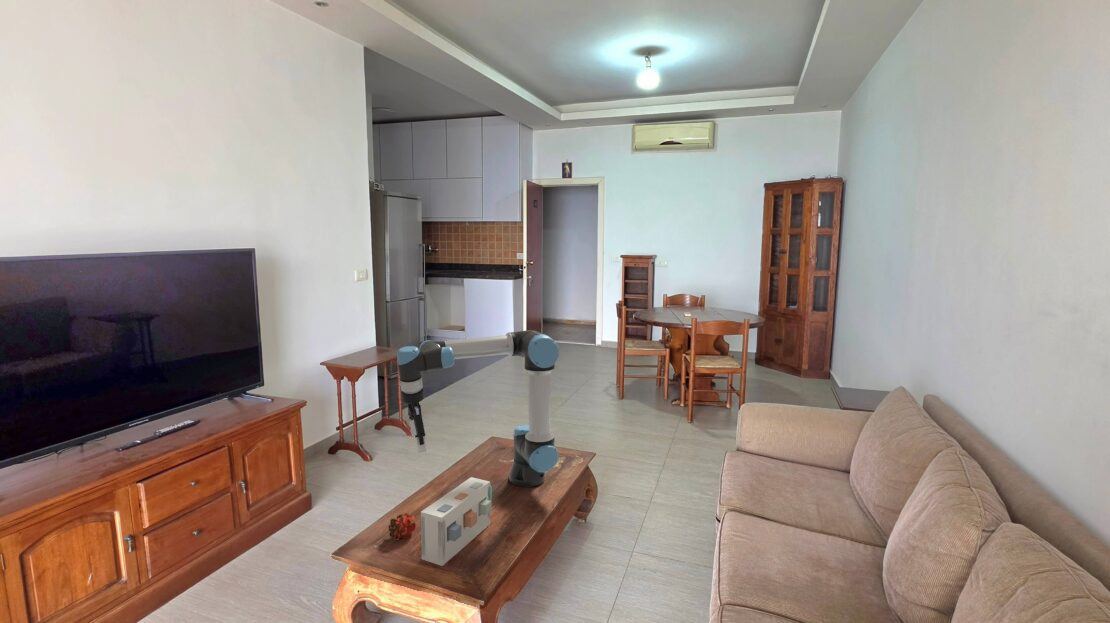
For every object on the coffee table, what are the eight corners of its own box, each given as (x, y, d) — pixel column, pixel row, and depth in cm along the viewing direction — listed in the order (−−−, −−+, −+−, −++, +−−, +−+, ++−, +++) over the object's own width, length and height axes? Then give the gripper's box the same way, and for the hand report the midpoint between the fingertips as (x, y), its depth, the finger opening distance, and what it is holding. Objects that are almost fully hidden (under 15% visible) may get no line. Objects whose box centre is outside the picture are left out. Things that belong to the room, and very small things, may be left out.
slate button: (448, 531, 177) (448, 521, 177) (461, 535, 175) (461, 525, 175) (441, 537, 174) (441, 526, 173) (454, 541, 172) (454, 530, 171)
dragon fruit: (389, 550, 182) (410, 536, 193) (408, 538, 180) (428, 526, 191) (378, 526, 183) (399, 514, 195) (396, 515, 181) (416, 503, 193)
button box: (471, 519, 199) (471, 476, 197) (490, 524, 196) (490, 480, 194) (421, 559, 174) (420, 510, 172) (442, 566, 171) (441, 516, 169)
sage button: (479, 507, 193) (479, 497, 193) (491, 510, 191) (491, 501, 191) (473, 512, 190) (473, 502, 190) (485, 515, 188) (485, 505, 187)
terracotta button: (464, 519, 185) (464, 509, 185) (477, 522, 183) (477, 512, 183) (458, 524, 182) (458, 513, 181) (471, 527, 180) (471, 517, 179)
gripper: (396, 379, 205) (402, 431, 211) (407, 405, 183) (414, 461, 189) (416, 376, 208) (422, 426, 214) (429, 400, 186) (436, 456, 192)
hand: (418, 443), depth 201 cm, fingers open, 13 cm apart
